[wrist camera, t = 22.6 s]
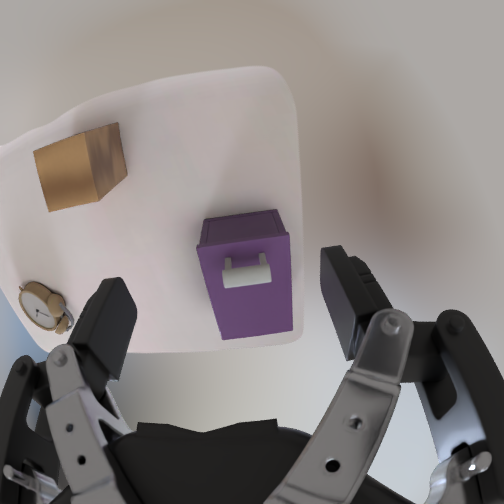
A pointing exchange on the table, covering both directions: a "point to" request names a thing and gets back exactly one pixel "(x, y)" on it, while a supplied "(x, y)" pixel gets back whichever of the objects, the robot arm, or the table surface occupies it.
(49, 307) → the alarm clock
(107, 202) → the table surface
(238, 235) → the box
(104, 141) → the stand
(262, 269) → the lid
